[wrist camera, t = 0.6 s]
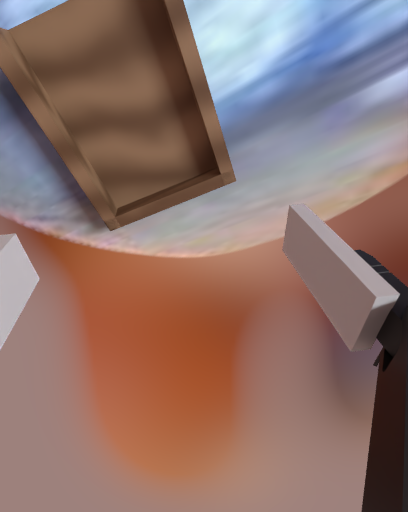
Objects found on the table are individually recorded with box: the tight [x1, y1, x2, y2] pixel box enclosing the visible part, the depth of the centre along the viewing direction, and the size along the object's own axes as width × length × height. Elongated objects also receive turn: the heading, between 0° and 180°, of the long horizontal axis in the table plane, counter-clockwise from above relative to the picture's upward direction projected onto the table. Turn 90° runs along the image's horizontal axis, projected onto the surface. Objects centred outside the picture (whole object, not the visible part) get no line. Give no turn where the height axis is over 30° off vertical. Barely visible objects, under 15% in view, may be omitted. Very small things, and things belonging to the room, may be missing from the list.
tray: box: [0, 0, 236, 231], centre depth 31 cm, size 22×18×4 cm
